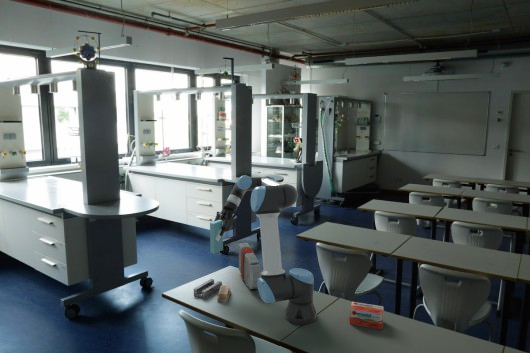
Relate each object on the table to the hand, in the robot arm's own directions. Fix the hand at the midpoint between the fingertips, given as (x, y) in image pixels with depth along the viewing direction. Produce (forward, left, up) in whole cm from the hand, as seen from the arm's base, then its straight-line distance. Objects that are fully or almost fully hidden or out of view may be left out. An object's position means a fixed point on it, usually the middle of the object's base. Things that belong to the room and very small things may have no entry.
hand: (214, 239), depth 220 cm
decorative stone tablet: (-5, -20, -28) cm, 35 cm away
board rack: (-3, +5, -28) cm, 29 cm away
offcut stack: (-13, +1, -28) cm, 31 cm away
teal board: (+1, -2, -7) cm, 7 cm away
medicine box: (-72, -43, -29) cm, 89 cm away
